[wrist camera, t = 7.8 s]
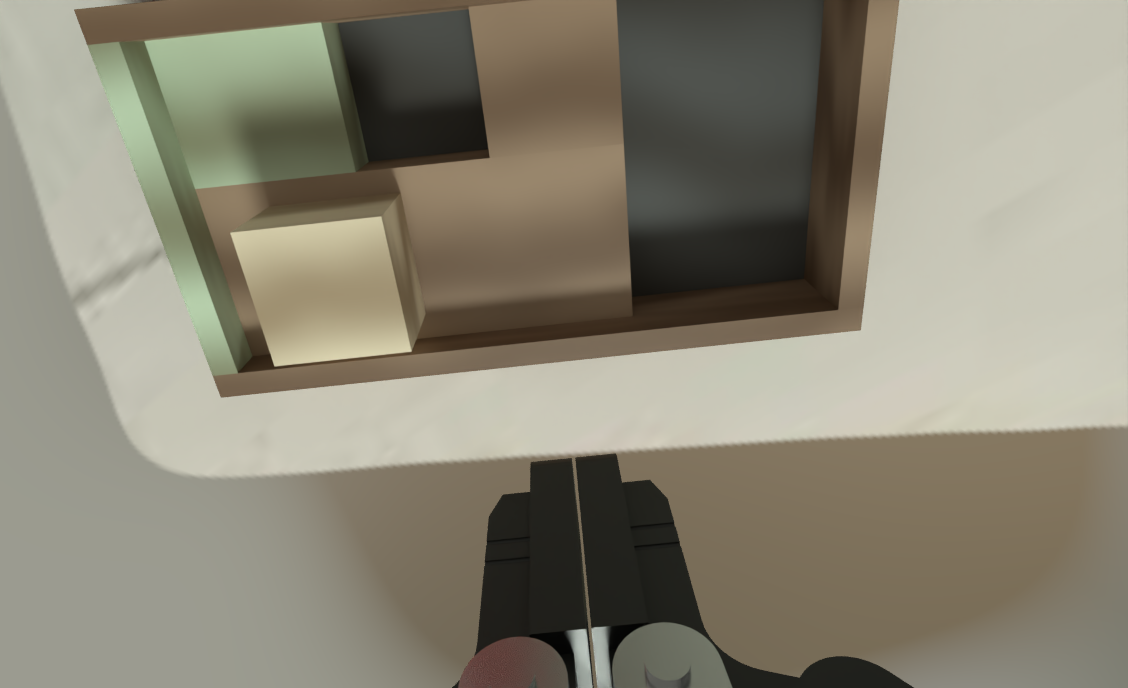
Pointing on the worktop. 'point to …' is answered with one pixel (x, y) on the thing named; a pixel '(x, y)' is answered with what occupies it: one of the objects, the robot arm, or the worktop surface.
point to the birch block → (332, 278)
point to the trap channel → (517, 164)
